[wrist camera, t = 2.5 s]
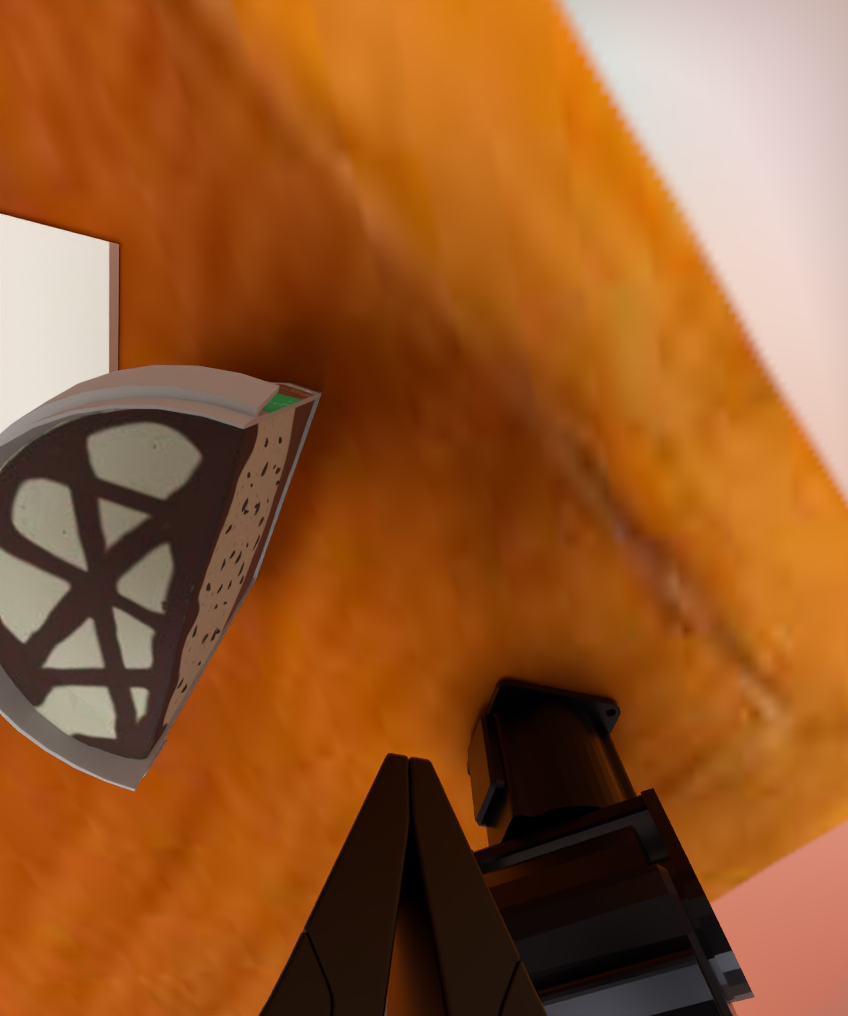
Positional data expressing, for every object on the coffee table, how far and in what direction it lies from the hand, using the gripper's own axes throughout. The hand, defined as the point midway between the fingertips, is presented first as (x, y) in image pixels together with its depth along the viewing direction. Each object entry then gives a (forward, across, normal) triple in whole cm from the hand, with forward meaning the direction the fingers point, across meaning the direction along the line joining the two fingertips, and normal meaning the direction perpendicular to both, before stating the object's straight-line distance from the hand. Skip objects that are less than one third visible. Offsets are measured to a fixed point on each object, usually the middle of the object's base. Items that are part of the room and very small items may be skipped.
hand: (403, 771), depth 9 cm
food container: (+13, +8, 0) cm, 16 cm away
